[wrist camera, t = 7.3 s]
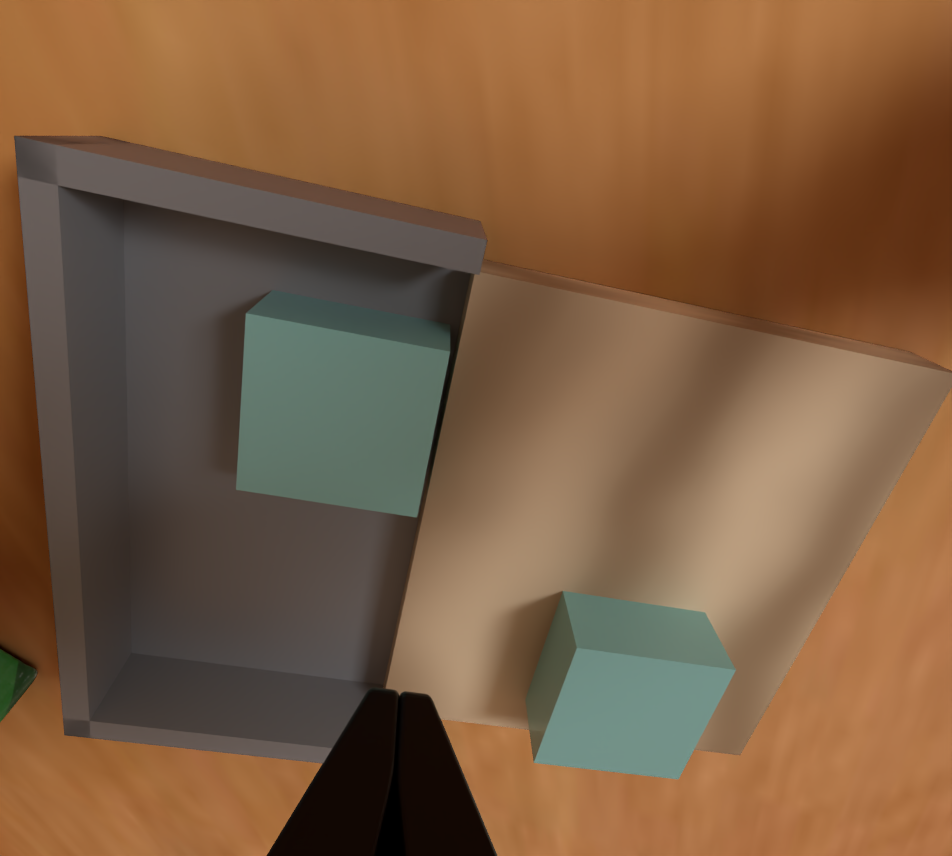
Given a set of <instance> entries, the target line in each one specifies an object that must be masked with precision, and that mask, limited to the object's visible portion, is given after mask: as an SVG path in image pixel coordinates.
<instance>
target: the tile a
mask: <svg viewBox="0 0 952 856" xmlns="http://www.w3.org/2000/svg"><path fill="white" fill-rule="evenodd" d="M449 356H450V324H446V323H440V322H435V321H430V320H425V319H420V318H415V317H409V316H404V315H399V314H394V313H389V312H384V311H378V310H373V309H368V308H363V307H358V306H353V305H347V304H342V303H337V302H332V301H327V300H322V299H317V298H311V297H306V296H301V295H296V294H291V293H286V292H280V291H275V290H272V291H271V292H270V293H269V294H268V295H266V296H265V297H264V298H263V299H262V300H261V301H259V302H258V303H257V304H256V305H255V306H254V307H253V308H251V309H250V310H249V311H248V312H247V313H246V320H245V338H244V356H243V374H242V392H241V410H240V428H239V446H238V464H237V482H236V490H241V491H248V492H254V493H261V494H267V495H274V496H280V497H287V498H293V499H300V500H306V501H313V502H319V503H326V504H332V505H339V506H345V507H352V508H358V509H365V510H371V511H377V512H384V513H390V514H397V515H403V516H410V517H416V518H417V515H418V510H419V505H420V500H421V495H422V490H423V485H424V480H425V475H426V470H427V465H428V460H429V455H430V450H431V445H432V440H433V435H434V430H435V425H436V420H437V415H438V410H439V405H440V400H441V395H442V390H443V385H444V380H445V375H446V371H447V366H448V361H449Z"/></svg>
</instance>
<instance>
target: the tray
mask: <svg viewBox="0 0 952 856" xmlns="http://www.w3.org/2000/svg"><path fill="white" fill-rule="evenodd" d="M14 139H15V151H16V163H17V175H18V187H19V199H20V211H21V223H22V235H23V247H24V258H25V270H26V282H27V294H28V306H29V318H30V330H31V342H32V354H33V366H34V378H35V390H36V402H37V413H38V425H39V437H40V449H41V461H42V473H43V485H44V497H45V509H46V521H47V533H48V545H49V557H50V568H51V580H52V592H53V604H54V616H55V628H56V640H57V652H58V664H59V676H60V688H61V700H62V712H63V723H64V735H67V736H77V737H86V738H95V739H104V740H113V741H122V742H132V743H141V744H150V745H159V746H168V747H177V748H186V749H196V750H205V751H214V752H223V753H232V754H241V755H251V756H260V757H269V758H278V759H287V760H296V761H306V762H315V763H324V761H325V759H326V758H327V756H328V754H329V753H330V751H331V749H332V748H333V746H334V745H335V743H336V741H337V740H338V738H339V736H340V735H341V733H342V731H343V730H344V728H345V727H346V725H347V723H348V722H349V720H350V718H351V717H352V715H353V713H354V712H355V710H356V709H357V707H358V705H359V704H360V702H361V700H362V699H363V697H364V695H365V694H366V692H367V691H368V690H369V689H370V688H372V687H377V688H383V686H384V680H385V676H386V671H387V666H388V662H389V657H390V652H391V647H392V643H393V638H394V633H395V629H396V624H397V619H398V614H399V610H400V605H401V600H402V596H403V591H404V586H405V581H406V577H407V572H408V567H409V563H410V558H411V553H412V548H413V544H414V539H415V534H416V530H417V525H418V520H419V515H420V511H421V506H422V501H423V496H424V492H425V487H426V482H427V478H428V473H429V468H430V463H431V459H432V454H433V449H434V445H435V440H436V435H437V430H438V426H439V421H440V416H441V412H442V407H443V402H444V397H445V393H446V388H447V383H448V379H449V374H450V369H451V364H452V360H453V355H454V350H455V346H456V341H457V336H458V331H459V327H460V322H461V317H462V312H463V308H464V303H465V298H466V294H467V289H468V284H469V279H470V275H471V273H472V274H476V275H480V271H481V266H482V262H483V257H484V252H485V248H486V243H487V238H486V236H485V233H484V230H483V227H482V225H481V222H480V221H477V220H473V219H468V218H464V217H460V216H455V215H451V214H446V213H442V212H437V211H433V210H428V209H424V208H419V207H415V206H410V205H406V204H402V203H397V202H393V201H388V200H384V199H379V198H375V197H370V196H366V195H361V194H357V193H353V192H348V191H344V190H339V189H335V188H330V187H326V186H321V185H317V184H312V183H308V182H303V181H299V180H295V179H290V178H286V177H281V176H277V175H272V174H268V173H263V172H259V171H254V170H250V169H246V168H241V167H237V166H232V165H228V164H223V163H219V162H214V161H210V160H205V159H201V158H196V157H192V156H188V155H183V154H179V153H174V152H170V151H165V150H161V149H156V148H152V147H147V146H143V145H139V144H134V143H130V142H125V141H121V140H116V139H112V138H107V137H103V136H14ZM272 290H275V291H280V292H286V293H291V294H296V295H301V296H306V297H311V298H317V299H322V300H327V301H332V302H337V303H342V304H347V305H353V306H358V307H363V308H368V309H373V310H378V311H384V312H389V313H394V314H399V315H404V316H409V317H415V318H420V319H425V320H430V321H435V322H440V323H446V324H450V356H449V361H448V366H447V371H446V375H445V380H444V385H443V390H442V395H441V400H440V405H439V410H438V415H437V420H436V425H435V430H434V435H433V440H432V445H431V450H430V455H429V460H428V465H427V470H426V475H425V480H424V485H423V490H422V495H421V500H420V505H419V510H418V515H417V518H416V517H410V516H403V515H397V514H390V513H384V512H377V511H371V510H365V509H358V508H352V507H345V506H339V505H332V504H326V503H319V502H313V501H306V500H300V499H293V498H287V497H280V496H274V495H267V494H261V493H254V492H248V491H241V490H236V482H237V464H238V446H239V428H240V410H241V392H242V374H243V356H244V338H245V320H246V313H247V312H248V311H249V310H250V309H251V308H253V307H254V306H255V305H256V304H257V303H258V302H259V301H261V300H262V299H263V298H264V297H265V296H266V295H268V294H269V293H270V292H271V291H272Z"/></svg>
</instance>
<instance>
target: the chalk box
mask: <svg viewBox="0 0 952 856" xmlns="http://www.w3.org/2000/svg"><path fill="white" fill-rule="evenodd" d="M37 673H38V672H37V670H36V669H34V668H32V667H31V666H28V665H26V664H24V663H23V662H22V661H20V660H18V659H16V658H14V657H13V656H11V655H10V654H8V653H6V652H5V651H3V650H1V649H0V722H1V721H2V720H3V718H4V717H5V716H6V715H7V713H8V712H9V711H10V710H11V708H12V707H13V706H14V705H15V704H16V702H17V701H18V700H19V699H20V697H21V696H22V695H23V694H24V692H25V691H26V690H27V689H28V687H29V686H30V685H31V684H32V682H33V681H34V679H35V678H36V676H37Z"/></svg>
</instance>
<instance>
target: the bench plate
mask: <svg viewBox="0 0 952 856" xmlns="http://www.w3.org/2000/svg"><path fill="white" fill-rule="evenodd" d="M951 388H952V371H951V370H948V369H946V368H944V367H942V366H940V365H938V364H935V363H933V362H931V361H929V360H927V359H925V358H923V357H920V356H918V355H916V354H914V353H912V352H908V351H903V350H899V349H894V348H889V347H885V346H880V345H876V344H871V343H866V342H862V341H857V340H852V339H848V338H843V337H839V336H834V335H829V334H825V333H820V332H816V331H811V330H806V329H802V328H797V327H792V326H788V325H783V324H779V323H774V322H769V321H765V320H760V319H756V318H751V317H746V316H742V315H737V314H732V313H728V312H723V311H719V310H714V309H709V308H705V307H700V306H695V305H691V304H686V303H682V302H677V301H672V300H668V299H663V298H659V297H654V296H649V295H645V294H640V293H635V292H631V291H626V290H622V289H617V288H612V287H608V286H603V285H598V284H594V283H589V282H585V281H580V280H575V279H571V278H566V277H562V276H557V275H552V274H548V273H543V272H538V271H534V270H529V269H525V268H520V267H515V266H511V265H506V264H502V263H497V262H492V261H488V260H483V262H482V266H481V271H480V275H476V274H472V273H471V275H470V279H469V284H468V289H467V294H466V298H465V303H464V308H463V312H462V317H461V322H460V327H459V331H458V336H457V341H456V346H455V350H454V355H453V360H452V364H451V369H450V374H449V379H448V383H447V388H446V393H445V397H444V402H443V407H442V412H441V416H440V421H439V426H438V430H437V435H436V440H435V445H434V449H433V454H432V459H431V463H430V468H429V473H428V478H427V482H426V487H425V492H424V496H423V501H422V506H421V511H420V515H419V520H418V525H417V530H416V534H415V539H414V544H413V548H412V553H411V558H410V563H409V567H408V572H407V577H406V581H405V586H404V591H403V596H402V600H401V605H400V610H399V614H398V619H397V624H396V629H395V633H394V638H393V643H392V647H391V652H390V657H389V662H388V666H387V671H386V676H385V680H384V688H385V689H393V690H396V691H397V692H398V693H399V696H400V694H401V693H402V692H404V691H408V692H416V693H424V694H428V695H429V696H430V697H431V698H432V700H433V702H434V704H435V707H436V709H437V711H438V714H439V716H440V719H444V720H452V721H460V722H469V723H477V724H485V725H494V726H502V727H510V728H518V729H527V730H529V724H528V716H527V709H526V701H525V699H526V696H527V693H528V690H529V687H530V684H531V681H532V678H533V675H534V673H535V670H536V667H537V664H538V661H539V658H540V655H541V652H542V649H543V647H544V644H545V641H546V638H547V635H548V632H549V629H550V626H551V623H552V621H553V618H554V615H555V612H556V609H557V606H558V603H559V600H560V597H561V595H562V592H563V591H567V592H573V593H580V594H587V595H593V596H600V597H607V598H613V599H620V600H627V601H633V602H640V603H646V604H653V605H660V606H666V607H673V608H680V609H686V610H693V611H699V612H705V613H706V615H707V617H708V619H709V621H710V623H711V624H712V626H713V628H714V630H715V632H716V634H717V636H718V637H719V639H720V641H721V643H722V645H723V647H724V649H725V650H726V652H727V654H728V656H729V658H730V660H731V662H732V664H733V665H734V667H735V669H736V671H735V673H734V675H733V677H732V679H731V680H730V682H729V684H728V686H727V688H726V690H725V692H724V694H723V696H722V698H721V699H720V701H719V703H718V705H717V707H716V709H715V711H714V713H713V715H712V716H711V718H710V720H709V722H708V724H707V726H706V728H705V730H704V732H703V734H702V735H701V737H700V739H699V741H698V743H697V745H696V747H695V749H694V750H700V751H709V752H717V753H725V754H733V755H740V754H741V753H742V751H743V749H744V747H745V746H746V744H747V742H748V741H749V739H750V737H751V735H752V734H753V732H754V730H755V728H756V727H757V725H758V723H759V721H760V720H761V718H762V716H763V714H764V713H765V711H766V709H767V707H768V706H769V704H770V702H771V701H772V699H773V697H774V695H775V694H776V692H777V690H778V688H779V687H780V685H781V683H782V681H783V680H784V678H785V676H786V674H787V673H788V671H789V669H790V667H791V666H792V664H793V662H794V661H795V659H796V657H797V655H798V654H799V652H800V650H801V648H802V647H803V645H804V643H805V641H806V640H807V638H808V636H809V634H810V633H811V631H812V629H813V627H814V626H815V624H816V622H817V621H818V619H819V617H820V615H821V614H822V612H823V610H824V608H825V607H826V605H827V603H828V601H829V600H830V598H831V596H832V594H833V593H834V591H835V589H836V588H837V586H838V584H839V582H840V581H841V579H842V577H843V575H844V574H845V572H846V570H847V568H848V567H849V565H850V563H851V561H852V560H853V558H854V556H855V554H856V553H857V551H858V549H859V548H860V546H861V544H862V542H863V541H864V539H865V537H866V535H867V534H868V532H869V530H870V528H871V527H872V525H873V523H874V521H875V520H876V518H877V516H878V514H879V513H880V511H881V509H882V508H883V506H884V504H885V502H886V501H887V499H888V497H889V495H890V494H891V492H892V490H893V488H894V487H895V485H896V483H897V481H898V480H899V478H900V476H901V474H902V473H903V471H904V469H905V468H906V466H907V464H908V462H909V461H910V459H911V457H912V455H913V454H914V452H915V450H916V448H917V447H918V445H919V443H920V441H921V440H922V438H923V436H924V435H925V433H926V431H927V429H928V428H929V426H930V424H931V422H932V421H933V419H934V417H935V415H936V414H937V412H938V410H939V408H940V407H941V405H942V403H943V401H944V400H945V398H946V396H947V395H948V393H949V391H950V389H951Z"/></svg>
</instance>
